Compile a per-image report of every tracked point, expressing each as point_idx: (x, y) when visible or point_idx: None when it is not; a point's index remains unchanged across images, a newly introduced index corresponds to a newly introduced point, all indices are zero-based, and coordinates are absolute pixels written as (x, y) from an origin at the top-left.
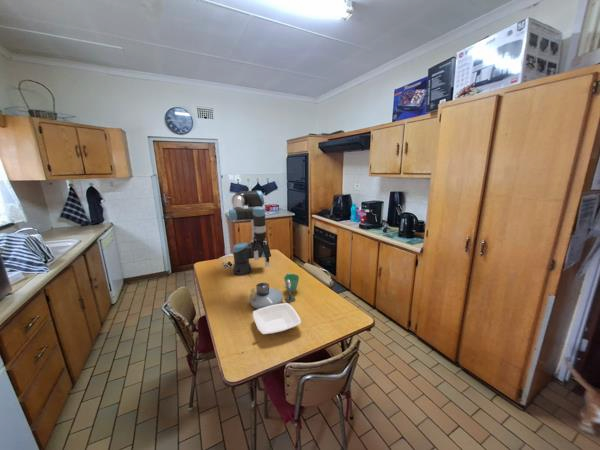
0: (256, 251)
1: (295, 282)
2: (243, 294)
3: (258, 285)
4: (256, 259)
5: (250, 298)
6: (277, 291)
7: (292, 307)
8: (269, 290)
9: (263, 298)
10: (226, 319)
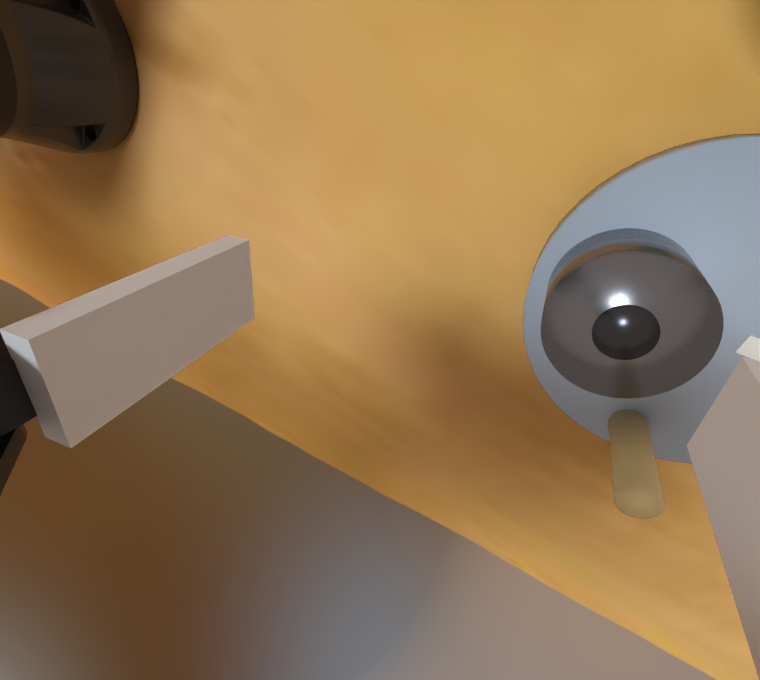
0: (64, 379)
1: None
2: (412, 315)
3: (571, 352)
4: (242, 293)
5: (580, 418)
6: None
7: None
8: (654, 217)
9: (705, 369)
10: (567, 541)
